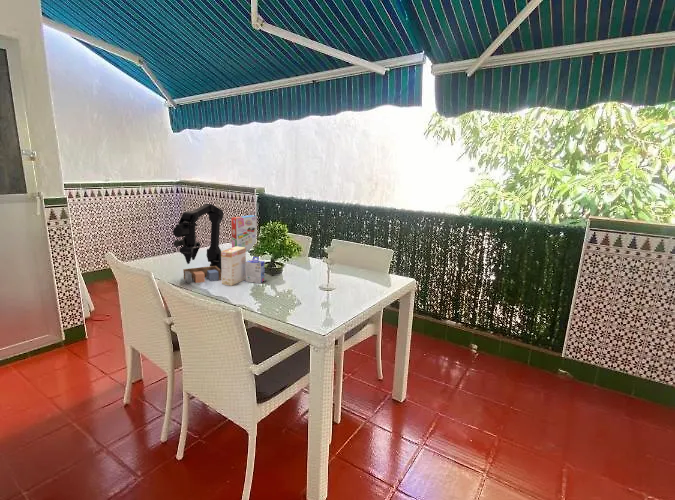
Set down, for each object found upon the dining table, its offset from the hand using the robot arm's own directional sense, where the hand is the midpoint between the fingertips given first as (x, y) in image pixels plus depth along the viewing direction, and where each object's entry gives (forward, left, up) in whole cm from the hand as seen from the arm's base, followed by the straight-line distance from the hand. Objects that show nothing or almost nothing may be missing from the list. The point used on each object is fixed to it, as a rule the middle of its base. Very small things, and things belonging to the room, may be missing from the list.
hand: (190, 261), depth 212 cm
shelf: (-7, -2, -12) cm, 14 cm away
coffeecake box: (-22, +9, -12) cm, 27 cm away
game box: (-55, -64, -12) cm, 85 cm away
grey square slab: (+2, 0, -12) cm, 12 cm away
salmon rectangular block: (-4, 0, -12) cm, 13 cm away
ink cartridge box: (-33, +14, -12) cm, 38 cm away
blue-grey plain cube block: (-12, 0, -12) cm, 17 cm away
